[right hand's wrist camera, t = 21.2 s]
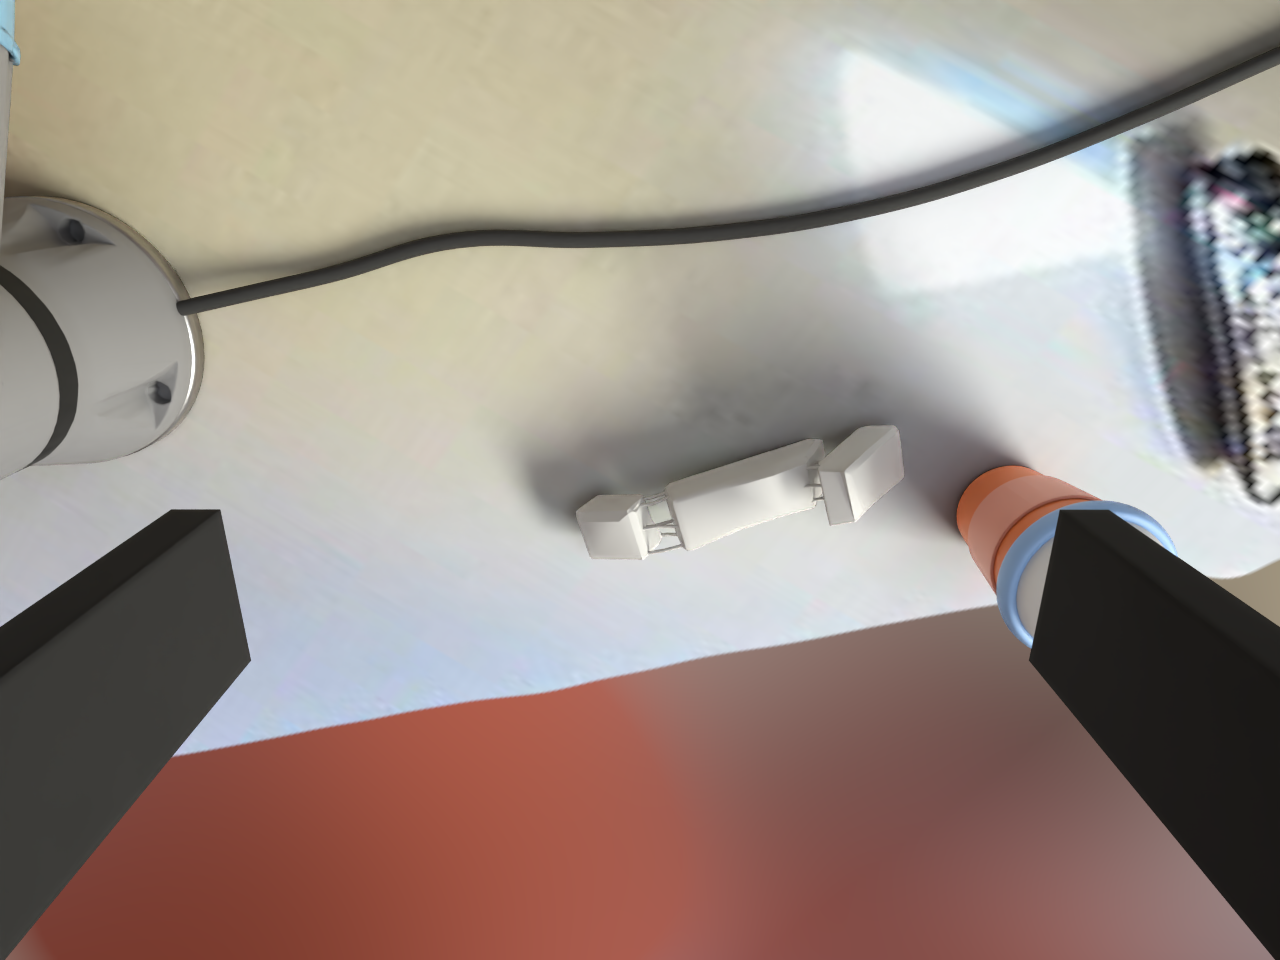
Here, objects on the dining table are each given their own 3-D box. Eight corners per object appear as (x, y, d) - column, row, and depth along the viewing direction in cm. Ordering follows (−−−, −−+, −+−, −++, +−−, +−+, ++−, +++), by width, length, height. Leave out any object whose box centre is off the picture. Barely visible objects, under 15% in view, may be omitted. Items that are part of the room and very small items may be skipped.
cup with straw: (908, 489, 50) (1044, 643, 33) (1041, 415, 48) (1257, 537, 31) (968, 595, 53) (1122, 787, 36) (1096, 528, 51) (1322, 697, 34)
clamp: (891, 414, 48) (917, 451, 41) (901, 470, 49) (928, 514, 43) (582, 487, 52) (563, 531, 45) (599, 537, 53) (582, 587, 46)
